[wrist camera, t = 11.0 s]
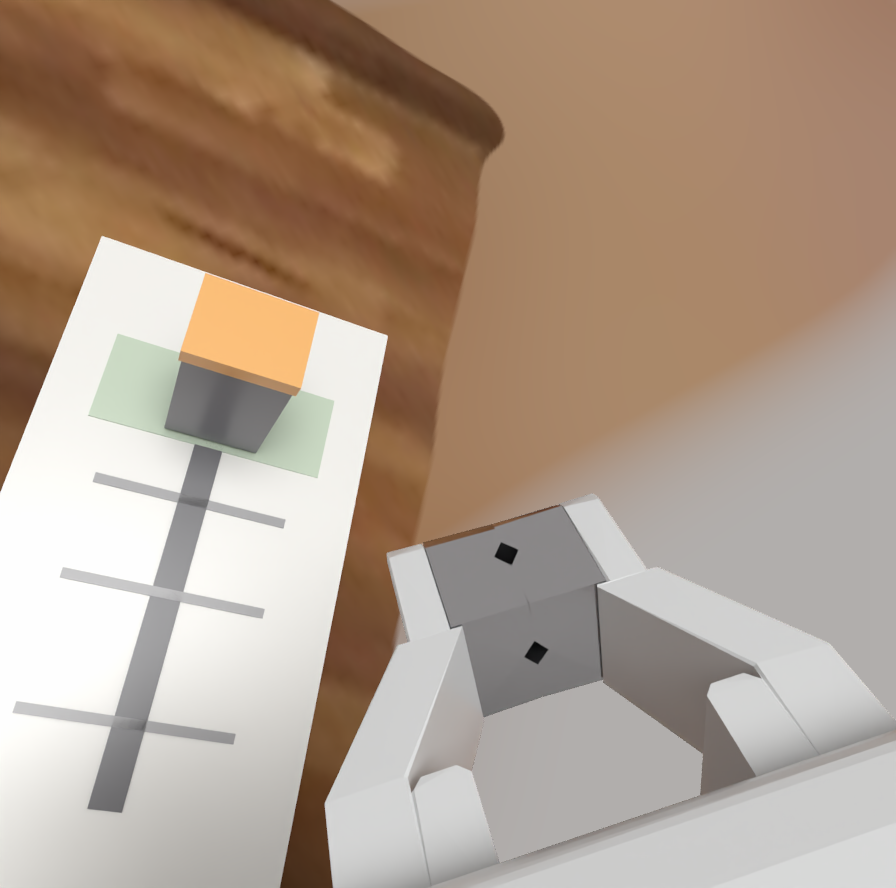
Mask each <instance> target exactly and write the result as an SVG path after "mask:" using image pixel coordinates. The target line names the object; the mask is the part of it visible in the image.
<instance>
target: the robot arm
mask: <svg viewBox="0 0 896 888" xmlns="http://www.w3.org/2000/svg"><path fill="white" fill-rule="evenodd" d="M387 562H388V566H389V570H390V574H391V578H392V582H393V586H394V590H395V594H396V598H397V602H398V606H399V610H400V614H401V618H402V622H403V626H404V629H405V633H406V638H407V643H404V644H401V645H397V647H396V649H395V651H394V653H393V655H392V658H391V660H390V662H389V664H388V666H387V669H386V671H385V673H384V675H383V677H382V679H381V682H380V684H379V686H378V688H377V690H376V693H375V695H374V697H373V699H372V701H371V703H370V706H369V708H368V710H367V712H366V714H365V717H364V719H363V721H362V723H361V725H360V727H359V730H358V732H357V734H356V736H355V738H354V741H353V743H352V745H351V747H350V749H349V751H348V754H347V756H346V758H345V760H344V762H343V765H342V767H341V769H340V771H339V773H338V776H337V778H336V780H335V782H334V784H333V786H332V789H331V791H330V793H329V795H328V797H327V800H326V802H325V813H326V823H327V833H328V843H329V853H330V863H331V873H332V883H333V888H896V720H895V719H894V718H893V717H892V716H891V714H890V713H889V712H888V711H887V710H886V709H885V708H884V706H883V705H882V704H881V703H880V702H879V701H878V699H877V698H876V697H875V696H874V695H873V694H872V692H871V691H870V690H869V689H868V688H867V687H866V686H865V684H864V683H863V682H862V681H861V680H860V678H859V677H858V676H857V675H856V674H855V673H854V671H853V670H852V669H851V668H850V667H849V666H848V664H846V662H845V661H844V660H843V659H842V658H841V656H840V655H839V654H838V653H837V652H836V651H835V649H834V648H833V647H832V646H831V645H830V644H829V643H828V642H825V641H823V640H821V639H819V638H816V637H814V636H812V635H810V634H807V633H805V632H803V631H801V630H799V629H796V628H794V627H791V626H790V625H787V624H785V623H783V622H781V621H778V620H776V619H774V618H772V617H769V616H767V615H765V614H763V613H760V612H758V611H756V610H754V609H751V608H749V607H747V606H745V605H743V604H740V603H738V602H736V601H734V600H731V599H729V598H727V597H725V596H722V595H720V594H718V593H716V592H713V591H711V590H709V589H707V588H704V587H702V586H700V585H698V584H696V583H693V582H691V581H689V580H687V579H684V578H682V577H680V576H678V575H675V574H673V573H671V572H668V571H666V570H664V569H662V568H660V567H655V568H652V569H649V570H648V569H647V568H646V567H645V565H644V564H643V562H642V561H641V559H640V558H639V556H638V555H637V553H636V552H635V550H634V549H633V547H632V546H631V544H630V543H629V541H628V540H627V539H626V537H625V536H624V534H623V533H622V531H621V530H620V528H619V527H618V525H617V524H616V522H615V521H614V519H613V518H612V516H611V515H610V513H609V512H608V511H607V509H606V508H605V506H604V505H603V503H602V502H601V500H600V499H599V497H598V496H596V495H594V494H589V495H586V496H582V497H579V498H576V499H573V500H569V501H566V502H563V503H560V504H559V505H555V506H551V507H548V508H544V509H541V510H538V511H534V512H531V513H528V514H525V515H521V516H518V517H514V518H511V519H508V520H504V521H501V522H498V523H494V524H491V525H488V526H484V527H480V528H476V529H472V530H469V531H465V532H461V533H457V534H453V535H450V536H446V537H442V538H438V539H435V540H431V541H427V542H423V545H422V544H419V545H415V546H411V547H407V548H403V549H399V550H396V551H392V552H388V553H387ZM600 680H603V683H605V684H606V685H607V686H609V687H610V688H612V689H613V690H615V691H616V692H617V693H619V694H620V695H622V696H623V697H624V698H626V699H627V700H629V701H630V702H631V703H633V704H634V705H636V706H637V707H638V708H640V709H641V710H643V711H644V712H645V713H647V714H648V715H649V716H651V717H652V718H654V719H655V720H657V721H658V722H659V723H661V724H662V725H663V726H665V727H666V728H668V729H669V730H670V731H672V732H673V733H675V734H676V735H677V736H679V737H680V738H682V739H683V740H684V741H686V742H687V743H689V744H690V745H691V746H693V747H694V748H696V749H697V750H698V751H700V752H701V753H703V763H702V778H701V793H700V796H697V797H694V798H691V799H688V800H685V801H682V802H679V803H676V804H673V805H671V806H668V807H665V808H662V809H659V810H656V811H653V812H650V813H647V814H644V815H641V816H638V817H635V818H632V819H629V820H626V821H623V822H620V823H617V824H614V825H611V826H608V827H606V828H603V829H599V830H597V831H594V832H591V833H588V834H585V835H582V836H579V837H576V838H573V839H570V840H567V841H564V842H561V843H558V844H555V845H552V846H549V847H546V848H543V849H541V850H537V851H534V852H531V853H529V854H525V855H523V856H520V857H517V858H514V859H511V860H508V861H505V862H502V863H499V859H498V856H497V853H496V849H495V846H494V843H493V840H492V836H491V833H490V830H489V826H488V823H487V820H486V816H485V813H484V810H483V806H482V803H481V800H480V797H479V794H478V790H477V787H476V783H475V780H474V777H473V774H472V768H473V764H474V760H475V756H476V752H477V748H478V744H479V740H480V736H481V732H482V728H483V724H484V718H483V717H486V716H489V715H491V714H494V713H497V712H500V711H503V710H506V709H509V708H512V707H515V706H518V705H520V704H523V703H526V702H529V701H532V700H535V699H538V698H541V697H542V696H543V697H544V696H547V695H551V694H554V693H558V692H561V691H565V690H568V689H572V688H575V687H579V686H582V685H586V684H589V683H593V682H596V681H600Z"/></svg>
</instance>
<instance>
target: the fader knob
mask: <svg viewBox="0 0 896 888" xmlns="http://www.w3.org/2000/svg"><path fill="white" fill-rule="evenodd" d="M318 316H319V312H316V311H313V310H310V309H308V308H305V307H302V306H299V305H296V304H293V303H290V302H288V301H285V300H282V299H279V298H276V297H273V296H270V295H267V294H265V293H262V292H259V291H256V290H253V289H250V288H247V287H245V286H242V285H239V284H236V283H233V282H230V281H227V280H225V279H222V278H219V277H216V276H213V275H210V274H207V273H205V276H204V279H203V282H202V285H201V288H200V291H199V294H198V298H197V301H196V304H195V307H194V310H193V313H192V316H191V319H190V322H189V326H188V329H187V332H186V335H185V338H184V341H183V344H182V347H181V351H180V355H179V359H178V360H179V361H181V364H180V368H179V372H178V376H177V379H176V383H175V387H174V391H173V395H172V399H171V403H170V407H169V411H168V415H167V419H166V422H165V426H164V428H166V429H170V430H174V431H177V432H181V433H184V434H188V435H192V436H195V437H199V438H202V439H206V440H210V441H213V442H217V443H220V444H224V445H228V446H231V447H235V448H239V449H242V450H246V451H249V452H253V453H256V452H257V451H258V449H259V447H260V446H261V444H262V443H263V441H264V440H265V438H266V436H267V435H268V433H269V432H270V430H271V428H272V427H273V425H274V424H275V422H276V421H277V419H278V417H279V416H280V414H281V413H282V411H283V409H284V408H285V406H286V405H287V403H288V402H289V400H290V398H291V397H292V396H296V395H297V394H298V392H299V391H300V389H301V387H302V383H303V378H304V374H305V370H306V366H307V362H308V358H309V354H310V349H311V345H312V341H313V337H314V333H315V329H316V325H317V320H318Z"/></svg>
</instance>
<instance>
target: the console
mask: <svg viewBox="0 0 896 888" xmlns="http://www.w3.org/2000/svg"><path fill="white" fill-rule="evenodd" d="M205 273H207V272H204V271H201V270H198V269H195V268H192V267H190V266H187V265H184V264H181V263H178V262H175V261H172V260H170V259H167V258H164V257H161V256H158V255H155V254H152V253H150V252H147V251H144V250H141V249H138V248H135V247H132V246H130V245H127V244H124V243H121V242H118V241H115V240H112V239H110V238H107V237H104V236H102V238H101V240H100V243H99V245H98V248H97V250H96V253H95V255H94V258H93V260H92V263H91V265H90V268H89V270H88V273H87V275H86V278H85V280H84V283H83V285H82V288H81V290H80V293H79V296H78V298H77V301H76V303H75V306H74V308H73V311H72V313H71V316H70V318H69V321H68V323H67V326H66V328H65V331H64V333H63V336H62V338H61V341H60V343H59V346H58V348H57V351H56V354H55V356H54V359H53V361H52V364H51V366H50V369H49V371H48V374H47V376H46V379H45V381H44V384H43V386H42V389H41V391H40V394H39V396H38V399H37V401H36V404H35V406H34V409H33V412H32V414H31V417H30V419H29V422H28V424H27V427H26V429H25V432H24V434H23V437H22V439H21V442H20V444H19V447H18V449H17V452H16V454H15V457H14V459H13V462H12V464H11V467H10V470H9V472H8V475H7V477H6V480H5V482H4V485H3V487H2V490H1V492H0V888H280V884H281V879H282V873H283V868H284V863H285V858H286V853H287V848H288V843H289V838H290V833H291V828H292V822H293V817H294V812H295V807H296V802H297V797H298V792H299V787H300V782H301V777H302V771H303V766H304V761H305V756H306V751H307V746H308V741H309V736H310V731H311V725H312V720H313V715H314V710H315V705H316V700H317V695H318V690H319V685H320V680H321V674H322V669H323V664H324V659H325V654H326V649H327V644H328V639H329V634H330V628H331V623H332V618H333V613H334V608H335V603H336V598H337V593H338V588H339V583H340V577H341V572H342V567H343V562H344V557H345V552H346V547H347V542H348V537H349V531H350V526H351V521H352V516H353V511H354V506H355V501H356V496H357V491H358V486H359V480H360V475H361V470H362V465H363V460H364V455H365V450H366V445H367V440H368V435H369V429H370V424H371V419H372V414H373V409H374V404H375V399H376V394H377V389H378V383H379V378H380V373H381V368H382V363H383V358H384V353H385V348H386V343H387V338H388V336H387V335H384V334H381V333H378V332H375V331H372V330H370V329H367V328H364V327H361V326H358V325H355V324H352V323H350V322H347V321H344V320H341V319H338V318H335V317H332V316H330V315H327V314H324V313H321V312H319V316H318V320H317V325H316V329H315V333H314V337H313V341H312V345H311V349H310V354H309V358H308V362H307V366H306V370H305V374H304V378H303V383H302V387H301V389H300V391H299V392H298V394H297V395H296V396H292V397H291V398H290V400H289V402H288V403H287V405H286V406H285V408H284V409H283V411H282V413H281V414H280V416H279V417H278V419H277V421H276V422H275V424H274V425H273V427H272V428H271V430H270V432H269V433H268V435H267V436H266V438H265V440H264V441H263V443H262V444H261V446H260V447H259V449H258V451H257V452H256V453H253V452H249V451H246V450H242V449H239V448H235V447H231V446H228V445H224V444H220V443H217V442H213V441H210V440H206V439H202V438H199V437H195V436H192V435H188V434H184V433H181V432H177V431H174V430H170V429H166V428H164V426H165V422H166V419H167V415H168V411H169V407H170V403H171V399H172V395H173V391H174V387H175V383H176V379H177V376H178V372H179V368H180V364H181V361H179V360H178V359H179V355H180V351H181V347H182V344H183V341H184V338H185V335H186V332H187V329H188V326H189V322H190V319H191V316H192V313H193V310H194V307H195V304H196V301H197V298H198V294H199V291H200V288H201V285H202V282H203V279H204V276H205ZM207 274H210V273H207ZM210 275H212V274H210ZM213 276H215V275H213ZM216 277H218V276H216ZM219 278H221V277H219ZM222 279H224V278H222ZM225 280H227V279H225ZM227 281H230V280H227ZM230 282H232V281H230ZM233 283H235V282H233ZM236 284H238V283H236ZM239 285H241V284H239ZM242 286H244V285H242ZM245 287H247V286H245ZM247 288H250V287H247ZM250 289H252V288H250ZM253 290H255V289H253ZM256 291H258V290H256ZM259 292H261V291H259ZM262 293H264V292H262ZM265 294H267V293H265ZM267 295H270V294H267ZM270 296H272V295H270ZM273 297H275V296H273ZM276 298H278V297H276ZM279 299H281V298H279ZM282 300H284V299H282ZM285 301H287V300H285ZM288 302H290V301H288ZM290 303H292V302H290ZM293 304H295V303H293ZM296 305H298V304H296ZM299 306H301V305H299ZM302 307H304V306H302ZM305 308H307V307H305ZM308 309H310V308H308ZM310 310H312V309H310ZM313 311H315V310H313ZM316 312H318V311H316Z"/></svg>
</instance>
